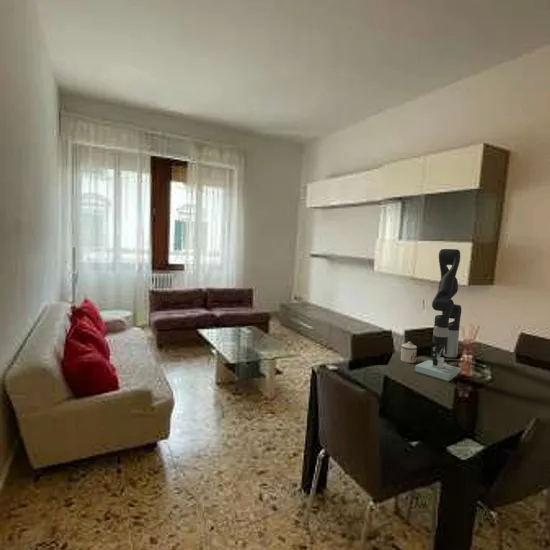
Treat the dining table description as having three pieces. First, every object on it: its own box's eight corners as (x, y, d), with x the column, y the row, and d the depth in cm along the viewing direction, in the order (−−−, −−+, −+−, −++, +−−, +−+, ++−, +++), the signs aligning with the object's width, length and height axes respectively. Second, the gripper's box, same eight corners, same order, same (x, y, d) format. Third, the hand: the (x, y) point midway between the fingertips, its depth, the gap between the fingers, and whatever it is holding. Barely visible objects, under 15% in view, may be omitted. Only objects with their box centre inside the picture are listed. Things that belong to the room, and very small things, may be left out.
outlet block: (428, 366, 215) (428, 359, 215) (460, 375, 202) (461, 368, 202) (414, 372, 204) (415, 365, 204) (448, 382, 191) (448, 374, 191)
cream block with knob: (435, 370, 206) (436, 355, 205) (443, 372, 203) (444, 357, 202) (432, 372, 203) (433, 356, 202) (440, 374, 200) (441, 358, 200)
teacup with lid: (413, 364, 219) (414, 344, 218) (397, 360, 224) (399, 341, 223) (420, 359, 228) (421, 341, 227) (405, 356, 234) (406, 338, 232)
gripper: (439, 331, 209) (437, 359, 210) (427, 335, 199) (425, 364, 201) (453, 334, 203) (450, 363, 205) (441, 338, 194) (439, 368, 195)
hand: (438, 363), depth 203 cm, fingers open, 8 cm apart
